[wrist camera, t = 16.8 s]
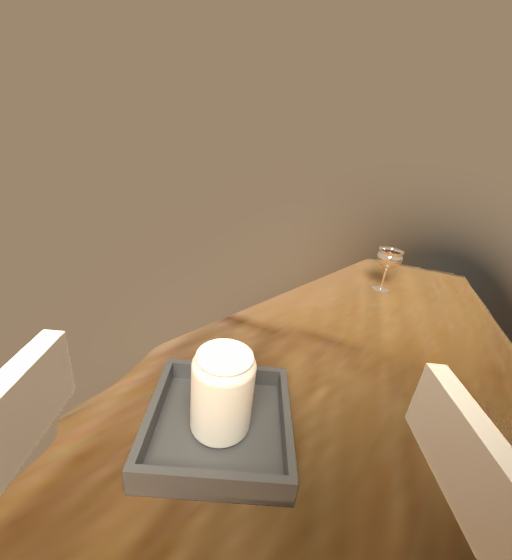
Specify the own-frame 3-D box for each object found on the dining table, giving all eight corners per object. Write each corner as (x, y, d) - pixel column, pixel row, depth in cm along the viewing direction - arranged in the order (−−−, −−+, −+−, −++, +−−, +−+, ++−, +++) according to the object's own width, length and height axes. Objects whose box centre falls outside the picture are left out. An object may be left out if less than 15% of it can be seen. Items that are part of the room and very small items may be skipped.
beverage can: (221, 394, 50) (226, 329, 45) (261, 426, 45) (271, 357, 40) (177, 424, 44) (177, 353, 39) (217, 464, 40) (223, 389, 35)
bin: (282, 387, 54) (285, 368, 52) (293, 507, 37) (298, 485, 35) (168, 377, 54) (167, 358, 52) (124, 495, 36) (122, 471, 35)
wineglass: (366, 289, 93) (376, 250, 88) (371, 281, 99) (381, 244, 94) (390, 296, 91) (403, 256, 86) (394, 288, 96) (406, 250, 91)
